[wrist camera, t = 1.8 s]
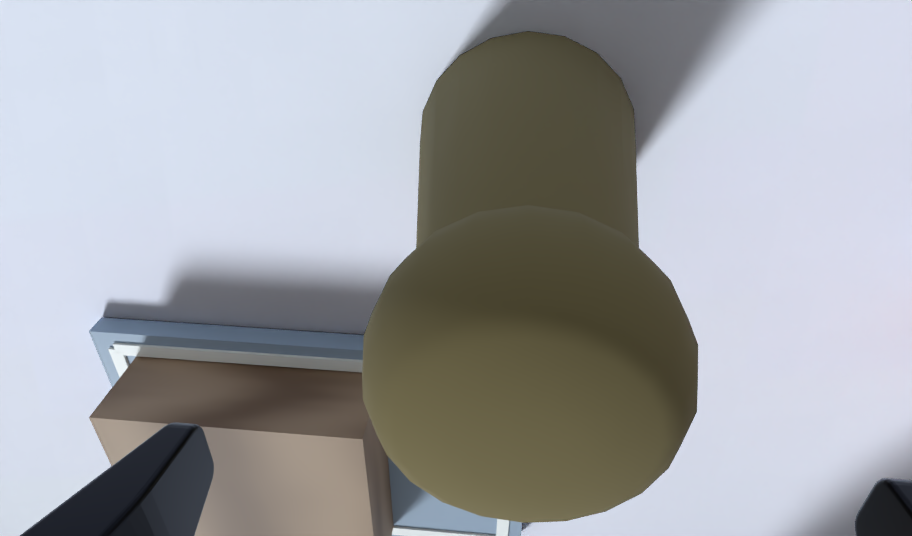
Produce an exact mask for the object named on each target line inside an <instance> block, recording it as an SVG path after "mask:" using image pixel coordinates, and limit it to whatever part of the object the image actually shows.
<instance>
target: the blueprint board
mask: <svg viewBox="0 0 912 536" xmlns="http://www.w3.org/2000/svg"><path fill="white" fill-rule="evenodd" d="M89 333H90V335H91V337H92V340H93V342H94V345H95V347H96V349H97V352H98V354H99V357H100V359H101V361H102V364H103V366H104V369H105V371H106V373H107V376H108V378H109V381H110V383H111V385H112V387H113V386H114V385H115V383H116V382H117V381H118V380H119V378H120V377H121V376H122V374H123V373H124V372H125V370H126V369H127V368H128V367H129V365H130V364H131V363H132V361H133V360H134V359H135V357H136V356H140V357H154V358H168V359H181V360H195V361H209V362H223V363H237V364H251V365H265V366H279V367H293V368H307V369H321V370H335V371H349V372H362V366H363V339H364V335H354V334H340V333H325V332H310V331H295V330H280V329H265V328H250V327H235V326H221V325H206V324H191V323H176V322H161V321H146V320H131V319H117V318H101V319H100V320H99V321H98V322H97V323H96V324H95V325H94V326H93V328H92V329H91V330H90V331H89ZM388 463H389V475H390V488H391V500H392V512H393V524H394V526H393V531H392V536H521V529H522V522H515V521H509V520H502V519H495V518H489V517H482V516H479V515H476V514H473V513H471V512H468V511H465V510H462V509H460V508H457V507H454V506H451V505H449V504H446V503H443V502H441V501H440V500H438V499H437V498H435V497H434V496H432V495H430V494H429V493H427V492H426V491H424V490H423V489H421V488H420V487H418V486H416V485H415V484H413V483H412V482H410V481H409V480H408V478H407V477H406V476H405V475H404V474H403V473H402V472H401V470H400V469H399V468H398V467H397V466H396V465H395V464H394V463H393V461H392V460H391V459H390V458H389V457H388Z"/></svg>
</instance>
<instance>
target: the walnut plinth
mask: <svg viewBox="0 0 912 536" xmlns="http://www.w3.org/2000/svg"><path fill="white" fill-rule="evenodd" d="M89 418H90V420H91V422H92V425H93V427H94V429H95V431H96V433H97V435H98V438H99V440H100V442H101V444H102V446H103V448H104V450H105V453H106V455H107V457H108V459H109V461H110V463H111V466H113V465H114V464H115V463H117V462H118V461H119V460H121V459H122V458H123V457H125V456H126V455H127V454H128V453H130V452H131V451H132V450H134V449H135V448H136V447H138V446H139V445H140V444H142V443H143V442H144V441H146V440H147V439H148V438H150V437H151V436H152V435H154V434H155V433H156V432H158V431H159V430H160V429H162V428H163V427H164V426H166V425H168V424H170V423H189V424H197V425H199V426H200V427H201V428H202V429H203V431H204V434H205V437H206V440H207V443H208V446H209V449H210V452H211V456H212V459H213V463H214V474H213V479H212V482H211V485H210V488H209V492H208V495H207V498H206V501H205V504H204V507H203V510H202V514H201V517H200V520H199V523H198V526H197V529H196V532H195V535H194V536H392V531H393V526H394V524H393V512H392V500H391V488H390V475H389V463H388V456H387V454H386V452H385V450H384V448H383V446H382V444H381V442H380V440H379V438H378V436H377V434H376V432H375V429H374V427H373V424H372V422H371V419H370V416H369V414H368V411H367V409H366V406H365V404H364V401H363V387H362V372H349V371H335V370H321V369H307V368H293V367H279V366H265V365H251V364H237V363H223V362H209V361H195V360H181V359H168V358H154V357H140V356H136V357H135V359H134V360H133V361H132V363H131V364H130V365H129V367H128V368H127V369H126V370H125V372H124V373H123V374H122V376H121V377H120V378H119V380H118V381H117V382H116V383H115V385H114V386H113V387H112V389H111V390H110V391H109V393H108V394H107V395H106V396H105V398H104V399H103V400H102V402H101V403H100V404H99V406H98V407H97V408H96V409H95V411H94V412H93V413H92V415H91V416H90V417H89Z"/></svg>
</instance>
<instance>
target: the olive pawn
mask: <svg viewBox="0 0 912 536" xmlns="http://www.w3.org/2000/svg"><path fill="white" fill-rule="evenodd" d="M362 387H363V401H364V404H365V406H366V409H367V411H368V414H369V416H370V419H371V422H372V424H373V427H374V429H375V432H376V434H377V436H378V438H379V440H380V442H381V444H382V446H383V448H384V450H385V452H386V454H387V456H388V457H389V458H390V459H391V460H392V461H393V463H394V464H395V465H396V466H397V467H398V468H399V469H400V470H401V472H402V473H403V474H404V475H405V476H406V477H407V478H408V480H409V481H410V482H412V483H413V484H415V485H416V486H418V487H420V488H421V489H423V490H424V491H426V492H427V493H429V494H430V495H432V496H434V497H435V498H437V499H438V500H440V501H441V502H443V503H446V504H449V505H451V506H454V507H457V508H460V509H462V510H465V511H468V512H471V513H473V514H476V515H479V516H482V517H489V518H495V519H502V520H509V521H515V522H522V523H527V522H553V521H568V520H572V519H576V518H580V517H584V516H588V515H592V514H597V513H601V512H605V511H607V510H609V509H611V508H613V507H615V506H617V505H619V504H621V503H623V502H625V501H627V500H629V499H631V498H633V497H635V496H637V495H639V494H641V493H642V492H643V491H645V490H646V489H647V488H648V487H649V486H650V485H651V484H652V483H653V482H654V481H655V480H656V479H657V478H658V477H659V476H661V475H662V474H663V473H664V472H665V471H666V470H667V469H668V468H669V466H670V464H671V463H672V461H673V459H674V457H675V455H676V453H677V451H678V450H679V448H680V446H681V444H682V442H683V440H684V437H685V435H686V433H687V431H688V429H689V427H690V425H691V423H692V421H693V419H694V417H695V414H696V412H697V387H698V344H697V341H696V338H695V336H694V333H693V330H692V328H691V325H690V322H689V320H688V317H687V315H686V313H685V311H684V309H683V306H682V304H681V302H680V300H679V298H678V295H677V293H676V291H675V289H674V287H673V285H672V282H671V280H670V279H669V278H668V277H667V276H666V275H665V274H664V273H663V272H662V271H661V269H660V268H659V267H658V266H657V265H656V264H655V263H654V262H653V261H652V260H651V259H650V258H649V257H648V256H647V255H646V254H645V253H643V252H642V251H641V250H640V249H639V239H638V208H637V177H636V145H635V124H634V109H633V106H632V104H631V102H630V99H629V97H628V95H627V92H626V90H625V87H624V85H623V83H622V80H621V78H620V77H619V76H618V75H617V74H616V73H615V72H614V71H613V70H612V69H611V68H610V66H609V65H608V64H607V63H606V62H605V61H604V60H603V59H602V58H601V57H600V56H599V55H598V54H597V53H596V52H594V51H592V50H590V49H588V48H586V47H584V46H582V45H580V44H578V43H577V42H575V41H573V40H571V39H569V38H567V37H565V36H558V35H551V34H544V33H537V32H530V31H527V32H521V33H516V34H511V35H505V36H500V37H495V38H491V39H489V40H487V41H485V42H483V43H482V44H480V45H478V46H476V47H474V48H473V49H471V50H469V51H467V52H465V53H464V54H462V55H460V56H459V57H458V58H457V59H456V60H455V61H454V62H453V64H452V65H451V66H450V67H449V68H448V69H447V70H446V71H445V72H444V73H443V74H442V76H441V77H440V78H439V79H438V80H437V81H436V83H435V85H434V87H433V90H432V92H431V94H430V96H429V99H428V101H427V103H426V106H425V108H424V110H423V115H422V127H421V139H420V160H419V188H418V216H417V244H416V249H415V250H414V251H413V252H412V253H411V254H410V255H409V256H408V257H407V258H406V259H405V260H404V261H403V262H402V263H401V264H400V265H399V266H398V267H397V268H396V270H395V271H394V272H393V273H392V274H391V275H390V277H389V279H388V281H387V283H386V285H385V287H384V289H383V291H382V293H381V295H380V297H379V299H378V301H377V303H376V305H375V307H374V310H373V312H372V314H371V317H370V320H369V322H368V325H367V328H366V331H365V333H364V339H363V366H362Z"/></svg>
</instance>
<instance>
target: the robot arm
mask: <svg viewBox="0 0 912 536" xmlns="http://www.w3.org/2000/svg"><path fill="white" fill-rule="evenodd" d="M213 474H214V463H213V459H212V456H211V452H210V449H209V446H208V443H207V440H206V437H205V434H204V431H203V429H202V428H201V427H200V426H199V425H197V424H189V423H170V424H168V425H166V426H164V427H163V428H162V429H160V430H159V431H158V432H156V433H155V434H154V435H152V436H151V437H150V438H148V439H147V440H146V441H144V442H143V443H142V444H140V445H139V446H138V447H136V448H135V449H134V450H132V451H131V452H130V453H128V454H127V455H126V456H125V457H123V458H122V459H121V460H119V461H118V462H117V463H115V464H114V465H113V466H111V467H110V468H109V469H107V470H106V471H105V472H103V473H102V474H101V475H99V476H98V477H97V478H95V479H94V480H93V481H91V482H90V483H89V484H87V485H86V486H85V487H84V488H82V489H81V490H80V491H78V492H77V493H76V494H74V495H73V496H72V497H70V498H69V499H68V500H66V501H65V502H64V503H62V504H61V505H60V506H58V507H57V508H56V509H54V510H53V511H52V512H50V513H49V514H48V515H46V516H45V517H44V518H43V519H41V520H40V521H39V522H37V523H36V524H35V525H33V526H32V527H31V528H29V529H28V530H27V531H25V532H24V533H23V534H21V535H20V536H194V535H195V532H196V529H197V526H198V523H199V520H200V517H201V514H202V510H203V507H204V504H205V501H206V498H207V495H208V492H209V488H210V485H211V482H212V479H213ZM855 531H856V536H912V480H902V479H890V478H884V479H881V480H879V481H878V482H877V483H876V484H875V485H874V487H873V489H872V490H871V492H870V494H869V495H868V497H867V499H866V500H865V502H864V504H863V505H862V507H861V509H860V510H859V512H858V514H857V517H856V521H855Z"/></svg>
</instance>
